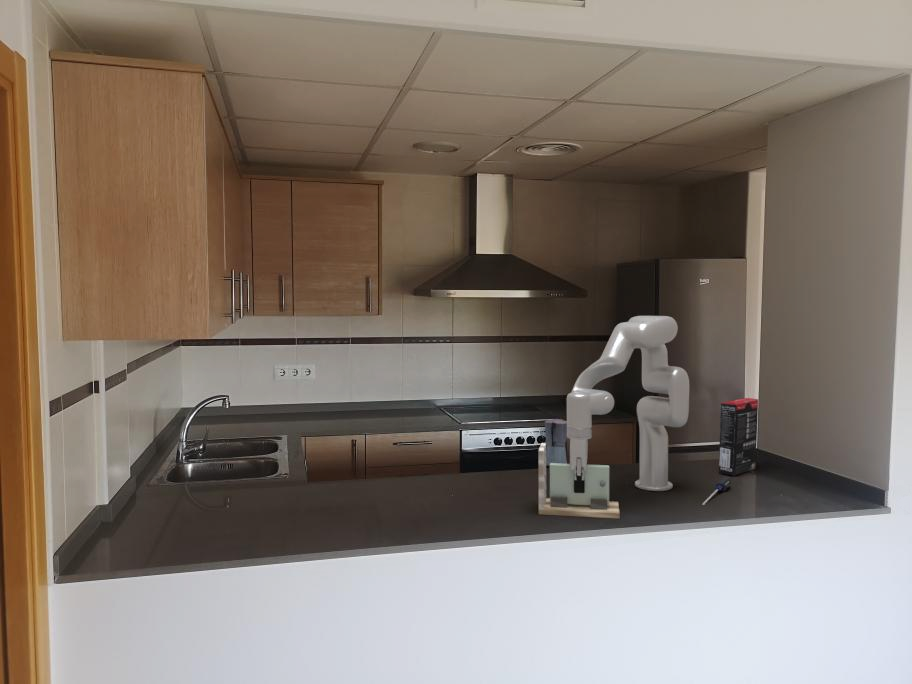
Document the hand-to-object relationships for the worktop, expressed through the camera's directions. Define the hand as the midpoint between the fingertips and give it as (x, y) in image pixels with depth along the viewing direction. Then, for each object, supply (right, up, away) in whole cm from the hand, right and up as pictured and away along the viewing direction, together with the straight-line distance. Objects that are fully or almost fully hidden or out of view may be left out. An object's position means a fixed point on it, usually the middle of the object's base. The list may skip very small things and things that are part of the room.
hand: (579, 490), depth 204 cm
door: (0, -4, 0) cm, 4 cm away
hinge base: (0, -6, 0) cm, 6 cm away
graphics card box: (+68, -3, +44) cm, 81 cm away
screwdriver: (+48, -5, +14) cm, 50 cm away
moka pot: (+1, -3, +57) cm, 57 cm away
